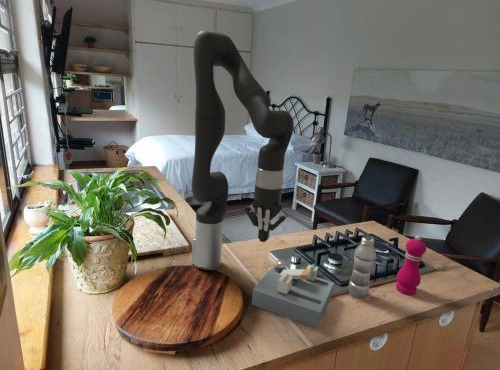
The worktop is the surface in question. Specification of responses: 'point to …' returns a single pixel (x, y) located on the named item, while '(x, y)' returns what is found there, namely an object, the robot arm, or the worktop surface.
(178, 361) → the worktop surface
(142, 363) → the worktop surface
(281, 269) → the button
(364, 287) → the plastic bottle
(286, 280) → the slider knob
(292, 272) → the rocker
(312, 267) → the green slider
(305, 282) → the console
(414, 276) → the pepper mill
